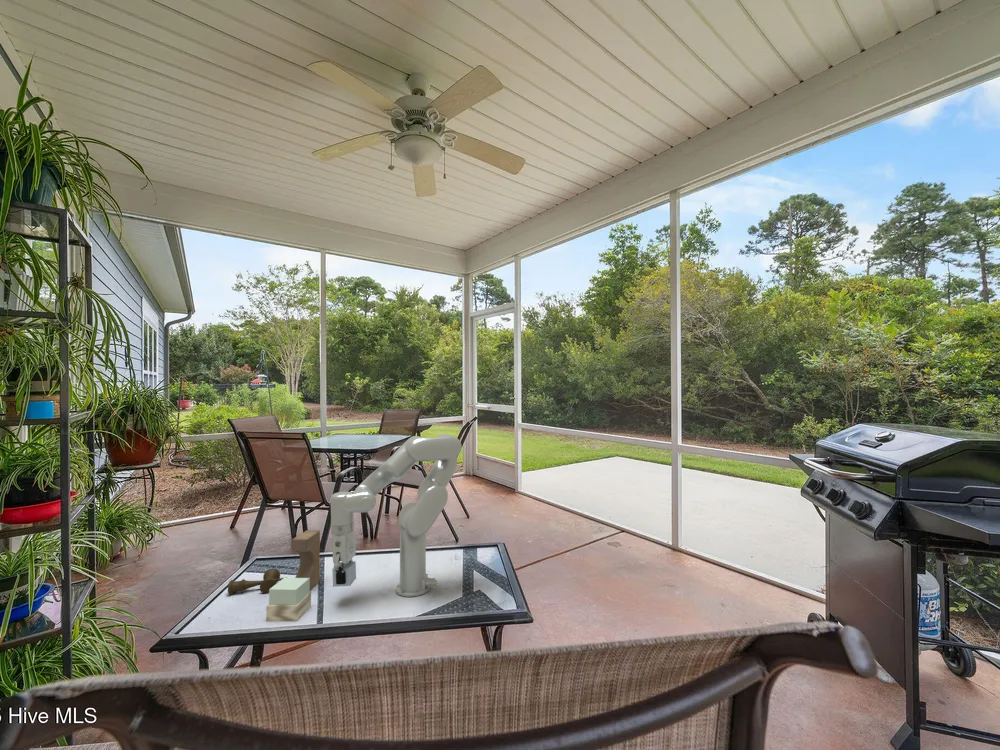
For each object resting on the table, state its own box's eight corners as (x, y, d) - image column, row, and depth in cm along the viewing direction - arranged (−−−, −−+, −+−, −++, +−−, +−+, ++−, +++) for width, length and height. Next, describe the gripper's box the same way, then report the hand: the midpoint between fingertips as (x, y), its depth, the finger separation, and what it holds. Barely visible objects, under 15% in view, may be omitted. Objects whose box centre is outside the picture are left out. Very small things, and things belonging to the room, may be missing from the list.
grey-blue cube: (356, 578, 155) (355, 561, 155) (350, 585, 149) (349, 568, 149) (339, 579, 155) (338, 562, 155) (332, 586, 149) (332, 569, 149)
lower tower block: (310, 606, 149) (311, 592, 149) (296, 622, 139) (297, 606, 139) (282, 606, 149) (282, 592, 149) (266, 622, 139) (266, 606, 139)
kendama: (231, 590, 163) (290, 580, 170) (225, 602, 154) (287, 591, 161) (231, 574, 163) (289, 565, 170) (224, 585, 154) (286, 575, 161)
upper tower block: (309, 592, 149) (309, 578, 149) (295, 605, 140) (295, 589, 140) (284, 592, 149) (284, 577, 150) (268, 605, 140) (269, 589, 141)
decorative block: (306, 594, 157) (306, 539, 158) (290, 594, 158) (291, 539, 159) (320, 581, 169) (320, 529, 169) (306, 581, 169) (306, 529, 170)
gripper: (344, 535, 144) (346, 590, 143) (361, 520, 161) (363, 568, 160) (322, 536, 144) (323, 591, 143) (341, 520, 161) (343, 569, 160)
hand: (344, 578), depth 152 cm, fingers closed on grey-blue cube, 6 cm apart
